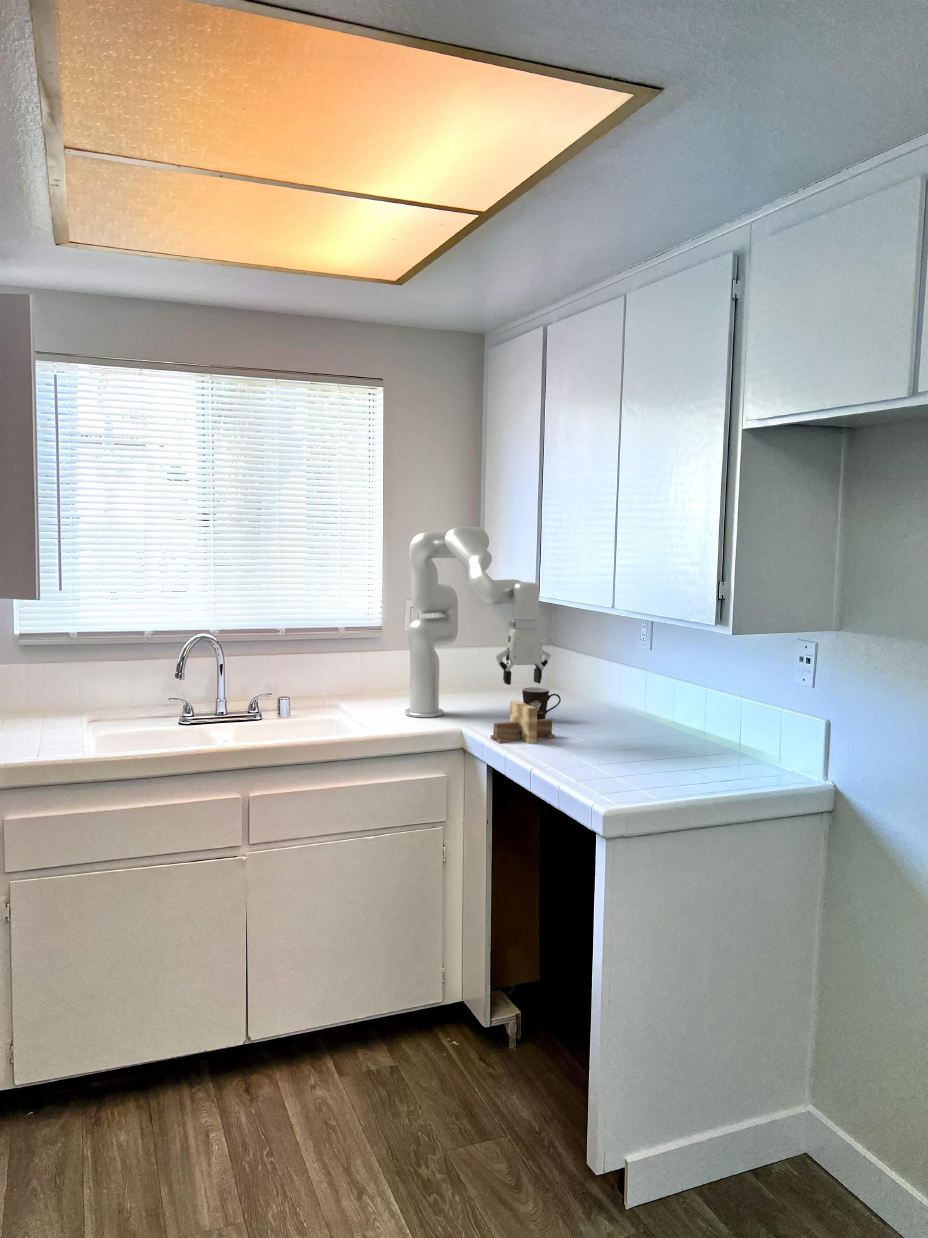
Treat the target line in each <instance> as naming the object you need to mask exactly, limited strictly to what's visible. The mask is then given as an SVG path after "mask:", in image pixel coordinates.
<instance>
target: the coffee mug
mask: <svg viewBox="0 0 928 1238" xmlns="http://www.w3.org/2000/svg"><path fill="white" fill-rule="evenodd" d="M521 690H522V701H523V702H522V703H525V704H527V705H530V706H533V707H535V708H537V720H539V719H546V717H547V713H548V712H550V711H552V710H554V709H556V708H557V707H558V706H559V705H560V703H561V701H562V698H561V696H560V695H559V694H558V693H551V694H550V689H549V688H545V687H539V686H538V687H536V686H535V687H534V686H533V687H523V688H522V689H521ZM553 696H555V697H557V698H558V702H557V703H556V704H555V705H553V706H552V707H551V708H548V703H549V702H548V701H550V698H552V697H553Z"/></svg>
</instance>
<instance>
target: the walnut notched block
mask: <svg viewBox="0 0 928 1238" xmlns="http://www.w3.org/2000/svg"><path fill="white" fill-rule="evenodd" d="M543 738H544V739H548V740H550V739H555V738H556V735H555V734H554V733H553V720H552V719H550V718H545V719H539V720H537V739H543ZM492 739H493V740H492ZM490 740H492V741H494V742H496V743H498V744H506V742H508V740H510V741H519V740H521V741H522V732H521V731H519V723H518V722H516V721H514V722H510V721H503V722H502V721H501V722H493V733H492V735H491V734H490Z"/></svg>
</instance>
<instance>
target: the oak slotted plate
mask: <svg viewBox="0 0 928 1238" xmlns="http://www.w3.org/2000/svg"><path fill="white" fill-rule="evenodd" d="M509 702H510V703H509V722H514V721H516V722H518V723H519V731H521V732H522V740H521V741H523V742H525V743H527V744H536V743H537V739H538V738H537V708H535V707H533V706H530V705H527V704H525V703H523V702H522V701H519V700H511V701H509Z"/></svg>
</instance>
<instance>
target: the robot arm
mask: <svg viewBox="0 0 928 1238" xmlns="http://www.w3.org/2000/svg"><path fill="white" fill-rule="evenodd" d="M489 545H490V538H489V535H488V533H487V531H485V529H482V527H479V526H456V527H452V528H451V529H449V530H448V531H424V532H420V533H418V534H416V535H415V536H414V537H413V538H412V540H411V542H410V545H409V548H408V549H409V550H408V554H409V556H408V557H409V562H410V567H411V605H412V608H413V610H414V612H415V613H418V614H422V615H428V614H429V615H430V614H436V616H435V617H422V618H418V619H415V620H413V621H411V622H410V623H409V625H408V627H407V630H406V631H407V632H406V634H407V641H408V645H409V646H408V647H409V658H410V659H409V660H410V661H409V664H410V665H409V670H410V673H409V676H410V680H409V681H410V683H409V691H410V692H409V707H408V708H406V709H405V712H404V714H405V715H406V716H409V717H414V718H436V716H437V717H440V716H442V715H444V710H443V709H442V708H440V657H439V655H438V653H437V651H436V649H435V647H440V646H441V647H443V646H450V645H451V644H453V643H454V642H455V641H456V640H457V637H458V633H459V598H458V595H457V591H456V590H455V589H454V588H453V587H452V586H451V585H449V584H446V583H445V584H444V583H439V573H438V572H439V571H438V568H437V566H436V564H435V562H434V560H433V559H457V560H458V561H459V562H460V563H461V564H462V565H463V566H464V568H465V569H466V570H467V571H468V577H467V578H468V581H469V587H470V588H471V590H472V591H473V593H474V594H475V595H476V596H477V597H478V598H479V600H481V601H482V602H483V603H484V604H486V605H488V606H491V607H499V606H512V614H511V615H512V616H511V620H509V621H508V622H507V626H508V627H511V628H510V629H509V631H508V635H507V640H506V649H504V650H503V651H501V652H500V653H498V654H496V655H495V659H496V661H497V664H498V665H499V666H500V668H501V669H502V670H503V675H502V676H503V678H502V680H503V683H504V684H506V685H508V686H511V684H512V668H513V666H514V665H515V666H527V665H530V666H532V665H534V667H535V668H534V669H533V682H534V683H536V684H541V682H542V677H543V676H542V674H543V670H544V669H545V667H546V666H547V664H548V663H549V660H550V658H551V656H552V655H551V653H549V652H547V651H545V650H543V640H542V632H541V629H539V611H540V610H539V609H540V608H539V607H540V586H539V584H538V583H535V582H529V581H522V580H519V579H493V578H491V576H490V575H488V573H487V572H486V571H487V570H488V568H489V567H490V566H491V564H492V562H493V557H492V554H491V552H490V551H489V550H488V548H489ZM504 658H505V662H504Z"/></svg>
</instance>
